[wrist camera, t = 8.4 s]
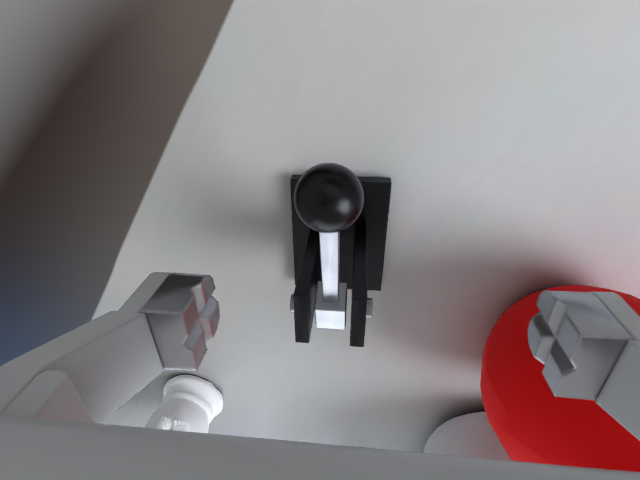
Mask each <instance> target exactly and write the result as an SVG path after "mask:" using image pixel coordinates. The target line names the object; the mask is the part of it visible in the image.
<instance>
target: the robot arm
mask: <svg viewBox="0 0 640 480" xmlns="http://www.w3.org/2000/svg"><path fill="white" fill-rule="evenodd" d="M214 290H215V285H214V281H213V278H212V277H211V276H210V275H200V274H185V273H168V272H154V273H151V274H150V275H149V276H148V277H147V278H146V279H145V280H144V282H143V283H142V284H141V285H140V286H139V287H138V289H137V290H136V291H135V292H134V293H133V294H132V295H131V297H130V298H129V299H128V300H127V301H126V302H125V303H124V305H123V306H122V307H121V308H120V309H119V310H118V311H111V312H109V313H107V314H105V315H103V316H100V317H98V318H96V319H94V320H92V321H90V322H88V323H86V324H84V325H82V326H80V327H78V328H76V329H74V330H72V331H70V332H68V333H66V334H64V335H62V336H60V337H58V338H56V339H54V340H52V341H49V342H47V343H45V344H43V345H41V346H40V347H37V348H35V349H33V350H31V351H29V352H27V353H25V354H23V355H21V356H19V357H17V358H15V359H13V360H11V361H9V362H7V363H5V364H3V365H2V366H1V367H0V480H640V472H632V471H621V470H610V469H599V468H588V467H576V466H565V465H554V464H543V463H532V462H520V461H509V460H498V459H487V458H476V457H465V456H453V455H442V454H431V453H420V452H409V451H398V450H387V449H376V448H364V447H353V446H342V445H331V444H320V443H309V442H298V441H287V440H276V439H264V438H253V437H242V436H231V435H220V434H209V433H198V432H186V431H175V430H164V429H153V428H142V427H131V426H120V425H108V424H100V423H101V422H102V421H104V420H105V419H106V418H107V417H109V416H110V415H111V414H112V413H113V412H115V411H116V410H117V409H118V408H120V407H121V406H122V405H123V404H124V403H126V402H127V401H128V400H129V399H131V398H132V397H133V396H134V395H135V394H137V393H138V392H139V391H140V390H142V389H143V388H144V387H145V386H146V385H148V384H149V383H150V382H151V381H152V380H154V379H155V378H156V377H157V376H159V375H160V374H161V373H162V372H163V371H164V369H168V370H191V371H197V370H198V368H199V366H200V364H201V362H202V360H203V358H204V356H205V354H206V352H207V347H206V342H207V341H208V340H210V339H211V338H213V337H214V335H215V333H216V330H217V328H218V323H219V318H220V316H219V304H218V301H217V300H216V299H215V298H214V297H213V296H212V293H213V292H214ZM536 305H537V307H538V309H539V310H540V312H539V313H537V314H536V315H535V316H533V317H532V318H531V319H530V323H529V326H528V343H529V346H530V350H531V352H532V354H533V356H534V357H535V358H536V359H537V360H539V361H540V362H541V363H543V364H544V365H545V366H544V368H543V371H542V373H543V375H544V377H545V379H546V381H547V383H548V385H549V387H550V389H551V391H552V393H553V395H554V397H564V398H574V399H584V400H594V401H596V402H595V403H597V404H598V405H599V406H600V407H601V408H602V409H603V410H605V411H606V412H607V413H608V414H609V415H610V416H612V417H613V418H614V419H615V420H616V421H617V422H618V423H620V424H621V425H622V426H623V427H624V428H625V429H627V430H628V431H629V432H630V433H631V434H632V435H633V436H635V437H636V438H637V439H638V440H639V441H640V316H639V315H638V314H637V313H636V312H635V311H634V310H633V309H632V308H631V307H630V306H629V305H628V304H627V303H626V301H625V300H624V299H623V298H622V297H621V296H620V295H618V294H616V293H614V292H568V291H542V292H541V294H540V295H539V297H538V299H537V302H536Z"/></svg>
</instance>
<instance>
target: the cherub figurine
mask: <svg viewBox="0 0 640 480" xmlns="http://www.w3.org/2000/svg"><path fill="white" fill-rule="evenodd" d="M163 395H164V398H163V400H162V405H161V406H160V407H159V408H158V409H157V410H156V411H155V412H154V413H153V414H152V416H151V417H150V419H149V420H148V422H147V424H146V427H145V428H153V429H164V430H175V431H186V432H198V433H208V430H209V423H210V422H211V421H212V419H213V417H214V416H216V415H218V414H219V413H220V412H221V410H222V408H223V399H222V394H221V393H220V392H219V391H218V390H217V389H216V388H215V386H213V385H212V384H211V383H210V382H208V381H206V380H203V379H201V378H199V377H196V376H193V375H179V376H176V377H174V378H171V379H169V380H168V381H167V383H166V384H165V386H164V388H163Z"/></svg>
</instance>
